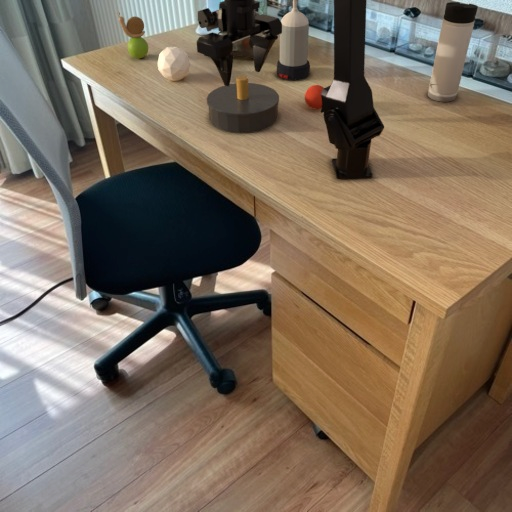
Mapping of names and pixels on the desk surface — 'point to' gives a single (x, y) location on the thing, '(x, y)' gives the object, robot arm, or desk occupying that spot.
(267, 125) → the black round open container
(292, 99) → the desk surface
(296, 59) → the humidifier
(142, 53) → the snail figurine
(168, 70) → the geometric ball
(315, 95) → the ball
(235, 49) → the lucky cat figurine
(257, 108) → the flat gray disc
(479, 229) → the desk surface
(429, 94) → the travel mug
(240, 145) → the desk surface
